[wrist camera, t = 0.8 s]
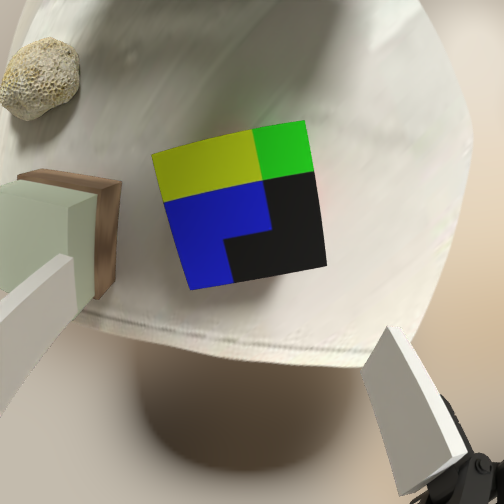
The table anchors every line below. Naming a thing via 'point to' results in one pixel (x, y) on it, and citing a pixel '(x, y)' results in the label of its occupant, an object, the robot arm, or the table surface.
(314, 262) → the puzzle toy
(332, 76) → the table surface
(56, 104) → the decorative item
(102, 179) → the walnut slab
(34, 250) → the sage slab
